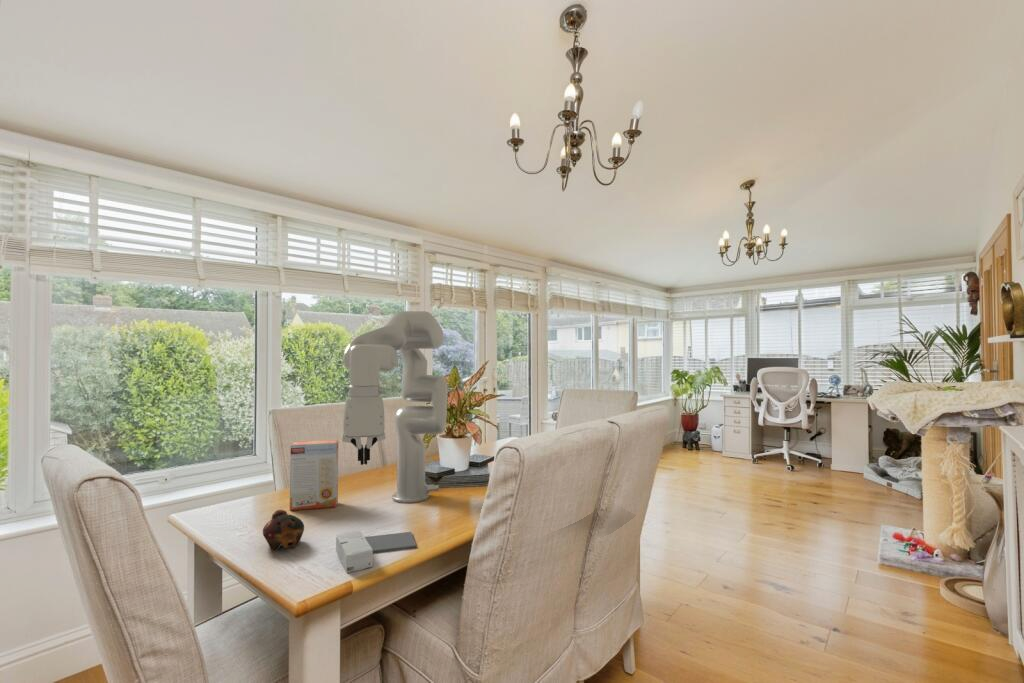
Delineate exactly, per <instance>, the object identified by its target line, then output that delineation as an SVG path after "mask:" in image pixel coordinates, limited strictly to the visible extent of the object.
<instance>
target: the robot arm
mask: <svg viewBox="0 0 1024 683" xmlns="http://www.w3.org/2000/svg"><path fill="white" fill-rule="evenodd" d="M443 342H444V332H443V329H442V327H441V325H440V323H439V322H438V320H437V319H436V317H435V316H434V315H433V314H432V313H430V312H429V311H425V310H423V311H421V310H419V311H418V310H417V311H415V310H413V311H411V310H407V311H406V310H404V311H398V312H395V313H394V314H393V315H392V316H391V317H390V318H389V319H388V320H387V321H386V322H385V324H384V325H383V326H381V327H378V328H375V329H373V330H371V331H367V332H364V333H362V334H360V335H358V336H356V337H354V339H353V340H351V341H350V342H349V344H348V345H347V347H346V348H345V351H344V354H343V358H342V359H343V364H344V366H345V368H346V369H348V371H349V381H348V382H349V386H348V387H349V391H348V396H349V397H346V398H345V403H344V410H343V421H342V422H343V424H342V425H343V426H342V427H343V435H342V438H341V440H342V442H343V443H347V444H348V443H350V444H352V445H353V446H354V447H355V448H356V449H357V462H360V465H361V466H363V465H368V461H370V460H371V448H372V447H373V446H374V445H375V444H376V443H377V442H380V441H384V440H385V439H386V434H385V429H386V428H385V407H384V400H383V396H380V395H381V394H384V393H386V388H385V387H382V386H381V385H380V382H381V381H380V380H381V379H380V375H381V374H380V373H387V372H391V371H392V370H394V369H395V368H396V366H397V364H398V361H399V355H398V352H399V354H400V356H401V360H402V377H401V397H402V399H403V400H404V401H406V402H411V403H413V402H414V403H432V405H404V406H401V407H400V408H398V410H397V411H396V413H395V416H394V422H395V428H396V436H397V461H396V462H397V464H396V466H397V474H396V476H397V478H396V479H397V480H396V491H395V492H394V493H393V494H392V496H391V498H392V501H395V502H398V503H402V504H403V503H405V504H407V503H408V504H411V503H412V504H413V503H418V502H423V501H426V500H428V499H429V498H430V492H438V491H440V487H439V486H440V485H438V484H437V485H435V484H427V483H426V450H427V449H426V444H425V442H424V440H423V438H422V437H421V435H422V434H423V435H440V434H442V433H444V431H445V430H446V426H447V416H448V415H447V413H448V412H447V411H448V384H447V380H446V379H445V377H444V376H442V375H439V374H428V360H427V357H426V356H425V354H424V353H423V352H422V351H421V350H422V349H424V350H425V349H426V350H427V349H428V350H429V349H430V350H433V349H438V348H440V347H441V346H442V345H443ZM420 349H421V350H420ZM397 351H398V352H397ZM361 438H366V442H365V445H363V444H362V440H361Z"/></svg>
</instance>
